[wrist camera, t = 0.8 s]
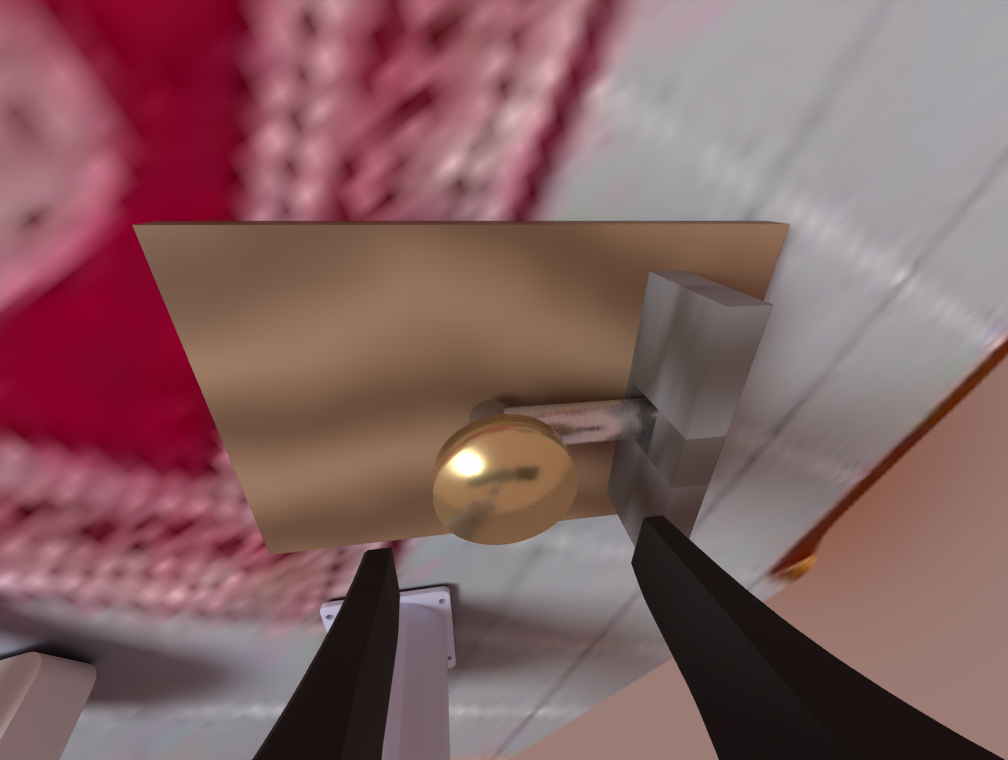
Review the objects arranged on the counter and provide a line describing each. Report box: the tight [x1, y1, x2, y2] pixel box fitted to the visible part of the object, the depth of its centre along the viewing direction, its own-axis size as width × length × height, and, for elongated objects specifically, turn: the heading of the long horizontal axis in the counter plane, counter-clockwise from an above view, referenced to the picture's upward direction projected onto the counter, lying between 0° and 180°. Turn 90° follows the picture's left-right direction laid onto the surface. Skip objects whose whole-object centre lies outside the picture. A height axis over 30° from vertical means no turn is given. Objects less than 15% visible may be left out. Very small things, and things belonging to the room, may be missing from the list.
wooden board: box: [133, 221, 789, 555], centre depth 16 cm, size 16×24×6 cm, turn 89°
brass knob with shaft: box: [433, 398, 659, 545], centre depth 16 cm, size 5×13×5 cm, turn 89°
